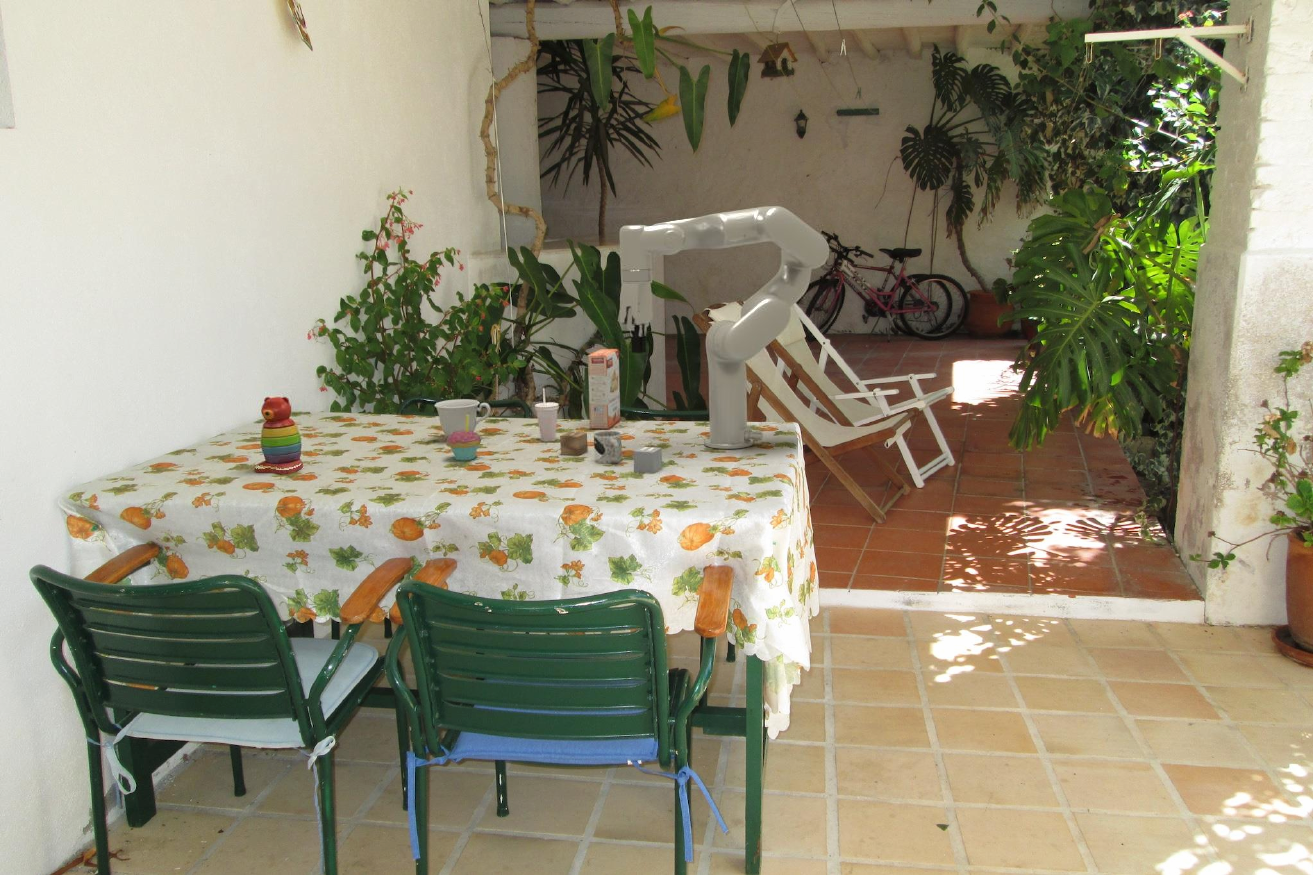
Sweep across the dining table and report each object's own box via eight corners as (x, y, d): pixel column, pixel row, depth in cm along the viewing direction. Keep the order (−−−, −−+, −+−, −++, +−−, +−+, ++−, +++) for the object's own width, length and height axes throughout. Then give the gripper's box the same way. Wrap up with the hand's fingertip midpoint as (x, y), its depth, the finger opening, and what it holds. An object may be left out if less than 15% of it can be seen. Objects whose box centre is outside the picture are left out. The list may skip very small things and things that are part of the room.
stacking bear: (250, 472, 254) (242, 400, 250) (278, 462, 264) (271, 392, 260) (287, 475, 251) (279, 401, 247) (314, 465, 260) (307, 394, 256)
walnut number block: (587, 452, 266) (586, 432, 265) (578, 456, 261) (577, 436, 260) (570, 450, 268) (569, 431, 267) (561, 455, 263) (560, 435, 262)
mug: (590, 459, 257) (589, 433, 256) (616, 456, 260) (615, 430, 258) (605, 468, 248) (604, 440, 247) (631, 464, 251) (630, 437, 249)
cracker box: (610, 429, 292) (607, 355, 287) (589, 429, 293) (586, 355, 288) (622, 420, 305) (619, 348, 301) (601, 419, 306) (599, 348, 302)
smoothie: (536, 438, 283) (533, 387, 281) (560, 437, 284) (558, 386, 281) (536, 443, 277) (533, 390, 274) (560, 442, 278) (557, 389, 275)
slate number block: (662, 468, 246) (661, 447, 245) (653, 473, 242) (653, 451, 241) (642, 467, 248) (642, 445, 247) (634, 472, 244) (633, 450, 243)
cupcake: (488, 456, 264) (485, 409, 262) (469, 463, 256) (465, 415, 254) (460, 453, 268) (457, 407, 265) (440, 461, 260) (436, 413, 258)
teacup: (488, 443, 279) (485, 406, 277) (432, 444, 279) (429, 407, 277) (496, 433, 291) (493, 398, 289) (442, 435, 291) (439, 399, 289)
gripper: (635, 275, 263) (637, 348, 267) (609, 279, 249) (612, 356, 253) (662, 275, 260) (664, 348, 264) (638, 279, 246) (640, 357, 250)
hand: (639, 352), depth 258 cm, fingers closed
